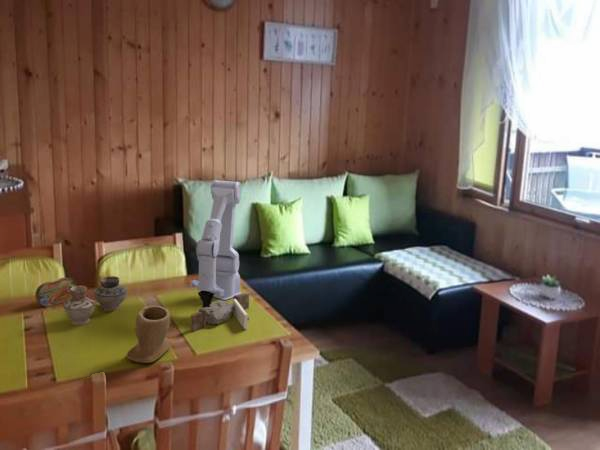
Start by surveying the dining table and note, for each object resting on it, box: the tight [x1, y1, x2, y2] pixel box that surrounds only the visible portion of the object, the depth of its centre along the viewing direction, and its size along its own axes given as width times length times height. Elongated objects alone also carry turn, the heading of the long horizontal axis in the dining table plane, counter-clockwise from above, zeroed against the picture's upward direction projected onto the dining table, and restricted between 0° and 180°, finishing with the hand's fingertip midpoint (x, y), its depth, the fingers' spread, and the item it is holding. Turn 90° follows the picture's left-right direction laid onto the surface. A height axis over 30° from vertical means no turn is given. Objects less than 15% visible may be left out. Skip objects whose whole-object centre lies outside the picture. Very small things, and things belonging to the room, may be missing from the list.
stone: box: [198, 299, 234, 325], centre depth 205 cm, size 13×6×10 cm
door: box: [232, 297, 250, 330], centre depth 204 cm, size 15×2×5 cm, turn 22°
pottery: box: [62, 275, 128, 326], centre depth 203 cm, size 11×25×12 cm, turn 155°
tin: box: [35, 277, 78, 308], centre depth 212 cm, size 15×3×8 cm, turn 143°
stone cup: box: [126, 305, 174, 364], centre depth 177 cm, size 15×12×15 cm
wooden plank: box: [190, 292, 250, 332], centre depth 205 cm, size 27×2×6 cm, turn 144°
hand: (206, 310), depth 208 cm, fingers closed, pressing on stone
